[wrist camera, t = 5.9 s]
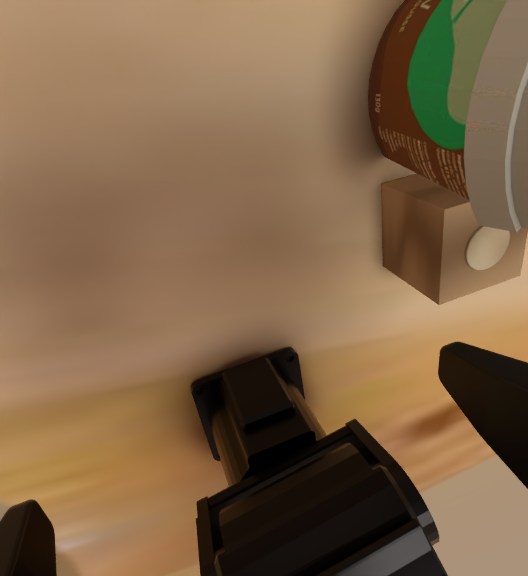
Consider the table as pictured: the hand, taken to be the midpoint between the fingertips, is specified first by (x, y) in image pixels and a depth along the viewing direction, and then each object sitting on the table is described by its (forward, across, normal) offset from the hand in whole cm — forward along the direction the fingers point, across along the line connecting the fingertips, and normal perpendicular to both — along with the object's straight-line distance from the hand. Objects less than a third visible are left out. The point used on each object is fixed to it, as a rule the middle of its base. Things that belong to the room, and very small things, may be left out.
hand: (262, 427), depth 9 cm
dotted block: (+13, -14, +3) cm, 19 cm away
